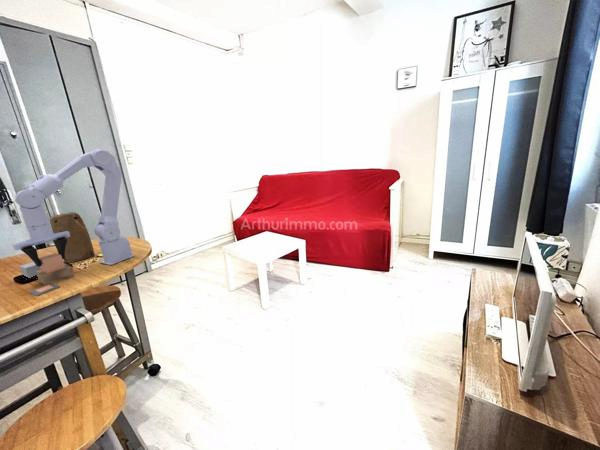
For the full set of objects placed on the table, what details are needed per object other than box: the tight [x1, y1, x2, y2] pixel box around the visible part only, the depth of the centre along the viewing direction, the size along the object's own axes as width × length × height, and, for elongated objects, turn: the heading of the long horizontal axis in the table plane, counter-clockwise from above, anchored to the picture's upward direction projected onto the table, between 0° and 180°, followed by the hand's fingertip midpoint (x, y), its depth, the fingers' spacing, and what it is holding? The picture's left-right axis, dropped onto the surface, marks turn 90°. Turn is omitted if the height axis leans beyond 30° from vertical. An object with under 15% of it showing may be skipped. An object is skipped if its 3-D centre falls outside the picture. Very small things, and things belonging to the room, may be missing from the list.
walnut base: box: [36, 262, 76, 286], centre depth 94 cm, size 8×8×4 cm
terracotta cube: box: [38, 252, 65, 274], centre depth 93 cm, size 5×5×5 cm
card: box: [28, 283, 61, 297], centre depth 87 cm, size 6×6×1 cm
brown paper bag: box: [49, 211, 95, 263], centre depth 111 cm, size 11×8×20 cm
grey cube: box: [19, 261, 41, 278], centre depth 97 cm, size 5×5×5 cm
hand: (51, 262), depth 93 cm, fingers open, 6 cm apart
